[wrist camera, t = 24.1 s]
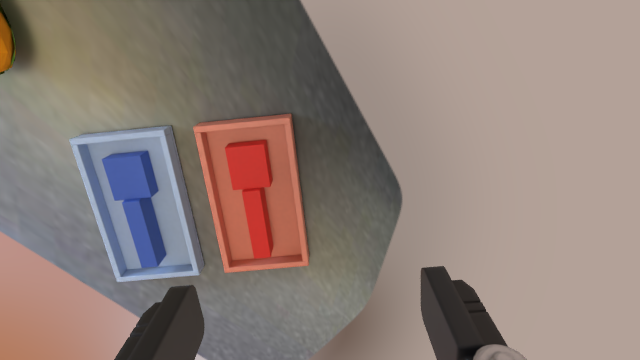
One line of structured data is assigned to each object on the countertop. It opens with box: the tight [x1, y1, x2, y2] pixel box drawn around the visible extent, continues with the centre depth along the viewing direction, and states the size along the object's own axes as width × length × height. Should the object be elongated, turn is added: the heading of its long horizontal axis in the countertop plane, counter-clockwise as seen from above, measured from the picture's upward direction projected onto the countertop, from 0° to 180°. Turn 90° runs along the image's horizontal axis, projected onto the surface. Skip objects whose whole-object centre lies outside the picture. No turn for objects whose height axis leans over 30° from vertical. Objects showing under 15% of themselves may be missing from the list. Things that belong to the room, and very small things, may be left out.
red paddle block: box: [225, 140, 273, 259], centre depth 38 cm, size 12×4×2 cm, turn 6°
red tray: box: [193, 114, 309, 273], centre depth 39 cm, size 16×9×2 cm, turn 6°
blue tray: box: [69, 126, 204, 282], centre depth 39 cm, size 16×9×2 cm, turn 6°
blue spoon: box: [102, 151, 166, 268], centre depth 39 cm, size 12×4×2 cm, turn 6°
